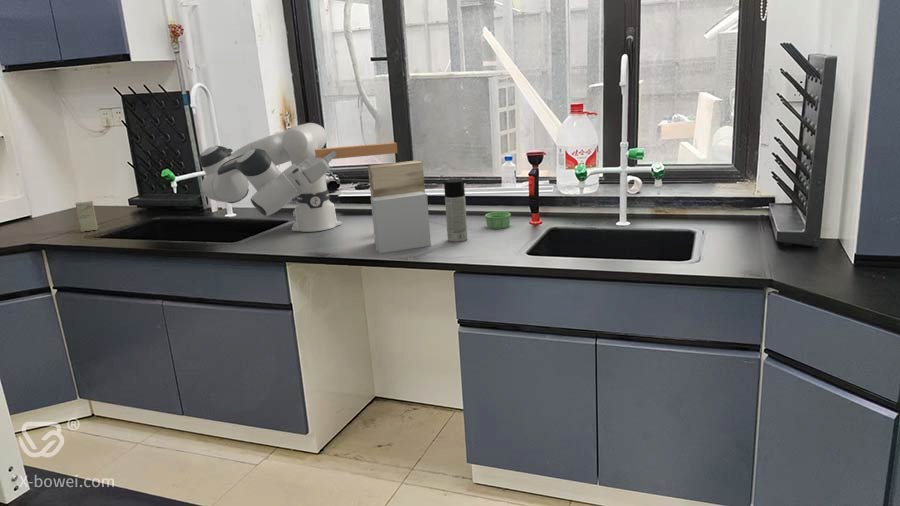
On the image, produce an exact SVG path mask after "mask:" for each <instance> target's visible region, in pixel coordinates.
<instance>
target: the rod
mask: <svg viewBox="0 0 900 506" xmlns="http://www.w3.org/2000/svg"><path fill="white" fill-rule="evenodd" d="M331 151H335V153H336V154H337V155H336V156H335V157H334V158H333V159H332V160H336V159H337V160H339V159H346V158H347V159H348V158H357V157H358V158H359V157H369V156H378V155H379V156H381V155H391V154H392V155H393V154H398V143H397V142H383V143H381V142H380V143H372V144H360V145H348V146H337V147H336V146H335V147H325V148H324V147H323V148H322V149H315V157H316V158H318V157H320V158H323V157H325V156H326V155H328V154H329V153H330V152H331Z"/></svg>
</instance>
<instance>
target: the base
mask: <svg viewBox="0 0 900 506" xmlns="http://www.w3.org/2000/svg"><path fill="white" fill-rule="evenodd" d="M370 203H371V217H372V225H373V235H374V236H373V237H374V244H375V250H376V251H377V252H378V253H379V254H385V253H390V252H398V251H405V250H411V249H417V248H418V249H419V248H424V247H430V246H432V243H431V230H430V218H429V216H430V215H429V206H428V203H429V202H428V194H427V193H426V192H425V193H424V192H422V191H420V192H412V193H405V194H397V195H389V196H381V197H373V198H371V197H370Z"/></svg>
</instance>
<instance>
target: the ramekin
mask: <svg viewBox="0 0 900 506" xmlns="http://www.w3.org/2000/svg"><path fill="white" fill-rule="evenodd" d="M485 221H486V227H487V228H489V229H490V230H491V229H492V230H499V229H506V228H508V227H510V223H511V213H510V212H507V211H494V212H493V211H492V212H488V213H486V214H485Z"/></svg>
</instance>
